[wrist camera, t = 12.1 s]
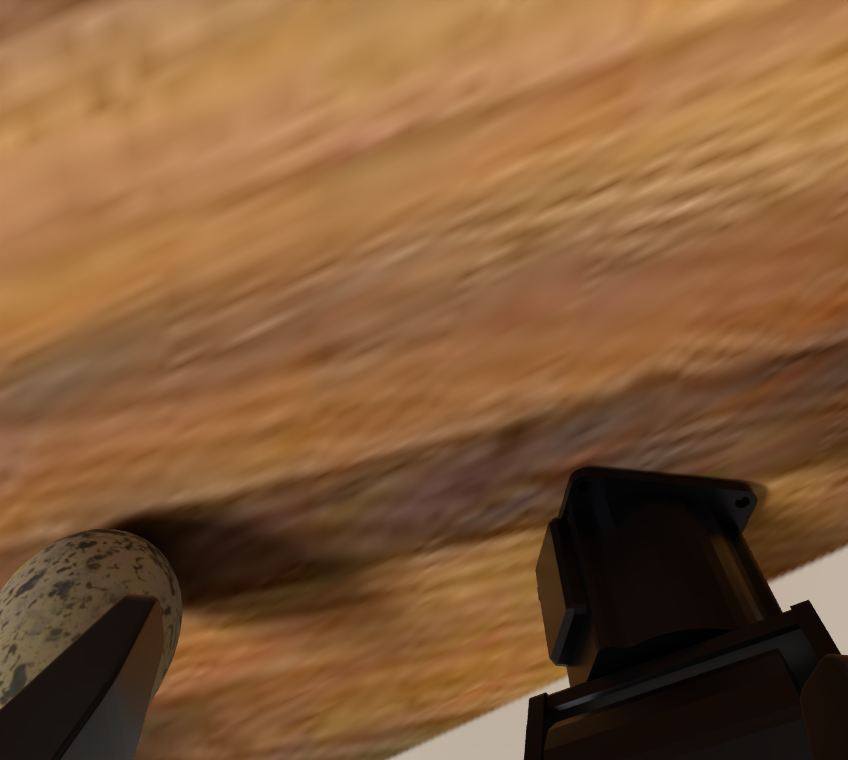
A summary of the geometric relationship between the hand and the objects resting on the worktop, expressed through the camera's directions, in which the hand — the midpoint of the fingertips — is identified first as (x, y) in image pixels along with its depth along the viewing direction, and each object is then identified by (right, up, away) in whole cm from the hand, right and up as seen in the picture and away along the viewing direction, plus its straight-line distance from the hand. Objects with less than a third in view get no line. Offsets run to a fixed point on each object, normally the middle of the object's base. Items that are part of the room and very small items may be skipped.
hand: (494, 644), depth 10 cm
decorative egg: (-12, -3, +18) cm, 22 cm away
